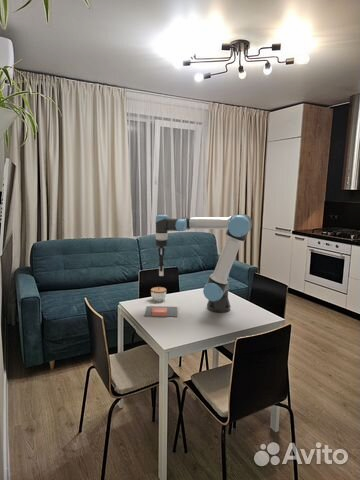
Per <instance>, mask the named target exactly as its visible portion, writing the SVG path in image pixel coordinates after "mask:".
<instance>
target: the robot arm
mask: <svg viewBox="0 0 360 480" xmlns="http://www.w3.org/2000/svg"><path fill="white" fill-rule="evenodd" d="M252 227H253V220H252V218H251V217H250V215H247V214H243V213H242V214H241V213H240V214H237V215H233V214H232V215H230V216H227V217H225V216H224V217H223V216H220V217H219V216H214V217H213V216H210V217H209V216H208V217H207V216H203V217H202V216H201V217H200V216H198V217H195V216H192V217H189V216H188V217H187V216H182V217H178V218H169V215H167V214H158V215H156V216H155V233H154V236H155V246H156V247H158V248H157V251H158V256H159V257H158V259H159V260H158V265H157V266H158V276H159V277H164V266H165V263H164V256H165V250H166V249H165V247H167V246H168V235H169V234H168V232H169V231H174V232H185V231H186V230H226V233H225V235H226V239H225V243H224V245H223V248H222V250H221V253H220V256H219V258H218V261H217V262H216V266H215V268H214V271H213V273H211V274H210V275H209V277H208V278H207V281H206V284H205V285H204V286H203V289H202V291H203V292H202V294H203V295H204V297H205V299H207V300H208V301H207V305H206V309H207V310H209V311H210V312H214V313H227V312H229V311H231V304H230V300H229V287H230V286H229V285H230V277H229V276H230V275H229V274H230V272H231V269H232V266H233V264H234V261H235V259H236V256H237V254H238V252H239V250H240V246H241V244H242V243H244V242H245V241H246V239H247V238H248V237H247V236H248V235H249V232H250V231H251V229H252Z"/></svg>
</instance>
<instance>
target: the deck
mask: <svg viewBox="0 0 360 480" xmlns="http://www.w3.org/2000/svg"><path fill="white" fill-rule="evenodd" d="M152 316H167V308H153V309H152Z"/></svg>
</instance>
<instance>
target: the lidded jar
mask: <svg viewBox="0 0 360 480" xmlns="http://www.w3.org/2000/svg"><path fill="white" fill-rule="evenodd" d="M150 295H151V296H150V297H151V298H152V299H153V301H154V302H163V300H165V298H166V295H167V288H165V287H162V286H156V287H152V288H151V289H150Z"/></svg>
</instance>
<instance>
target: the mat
mask: <svg viewBox="0 0 360 480" xmlns="http://www.w3.org/2000/svg"><path fill="white" fill-rule="evenodd" d="M153 308H167V316H152V309H153ZM143 316H144V317H149V318H150V317H151V318H152V317H155V318H157V317H158V318H159V317H163V318H166V317H167V318H169V317H170V318H178V306H165V305H163V306H161V305H160V306H156V305H155V306H154V305H153V306H151V305H147V306H146V308H145V311H144V315H143Z"/></svg>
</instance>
